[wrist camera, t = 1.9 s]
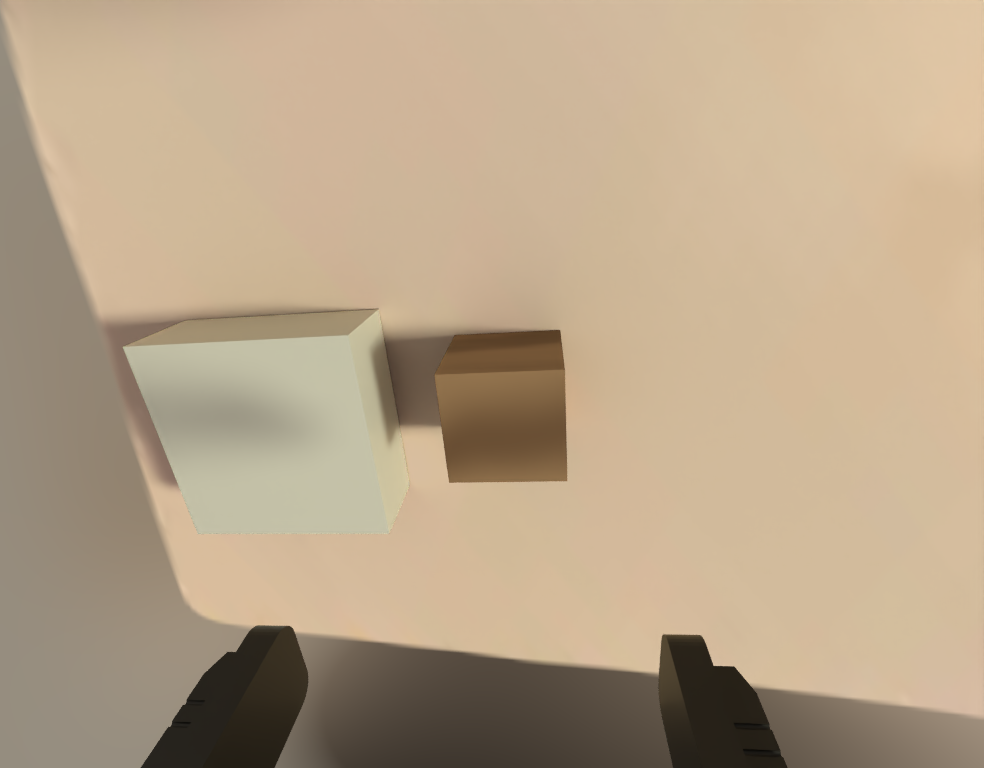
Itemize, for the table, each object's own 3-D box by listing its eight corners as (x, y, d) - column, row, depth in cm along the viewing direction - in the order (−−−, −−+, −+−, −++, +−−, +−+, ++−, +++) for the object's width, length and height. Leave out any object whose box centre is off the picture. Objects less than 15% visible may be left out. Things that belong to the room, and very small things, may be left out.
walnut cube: (455, 334, 23) (434, 374, 19) (560, 329, 23) (564, 369, 18) (465, 426, 25) (449, 482, 21) (562, 423, 25) (567, 480, 20)
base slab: (185, 320, 24) (122, 347, 21) (378, 309, 23) (348, 335, 19) (242, 486, 28) (197, 533, 25) (409, 484, 27) (389, 533, 23)
